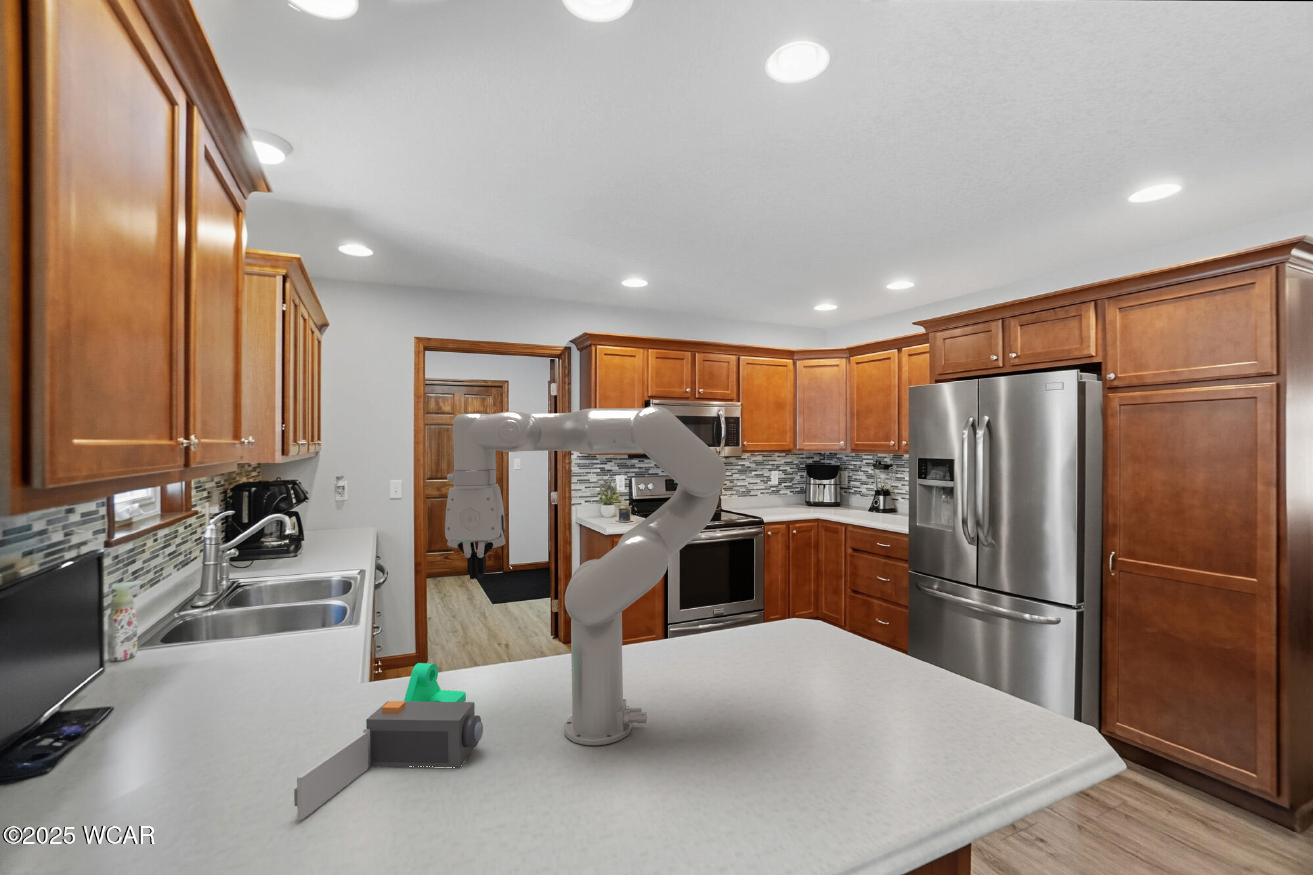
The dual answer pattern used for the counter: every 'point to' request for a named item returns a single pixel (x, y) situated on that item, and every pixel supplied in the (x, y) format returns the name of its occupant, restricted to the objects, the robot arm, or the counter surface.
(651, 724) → the counter surface
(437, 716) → the camera body
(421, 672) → the camera mount
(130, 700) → the counter surface
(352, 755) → the door
